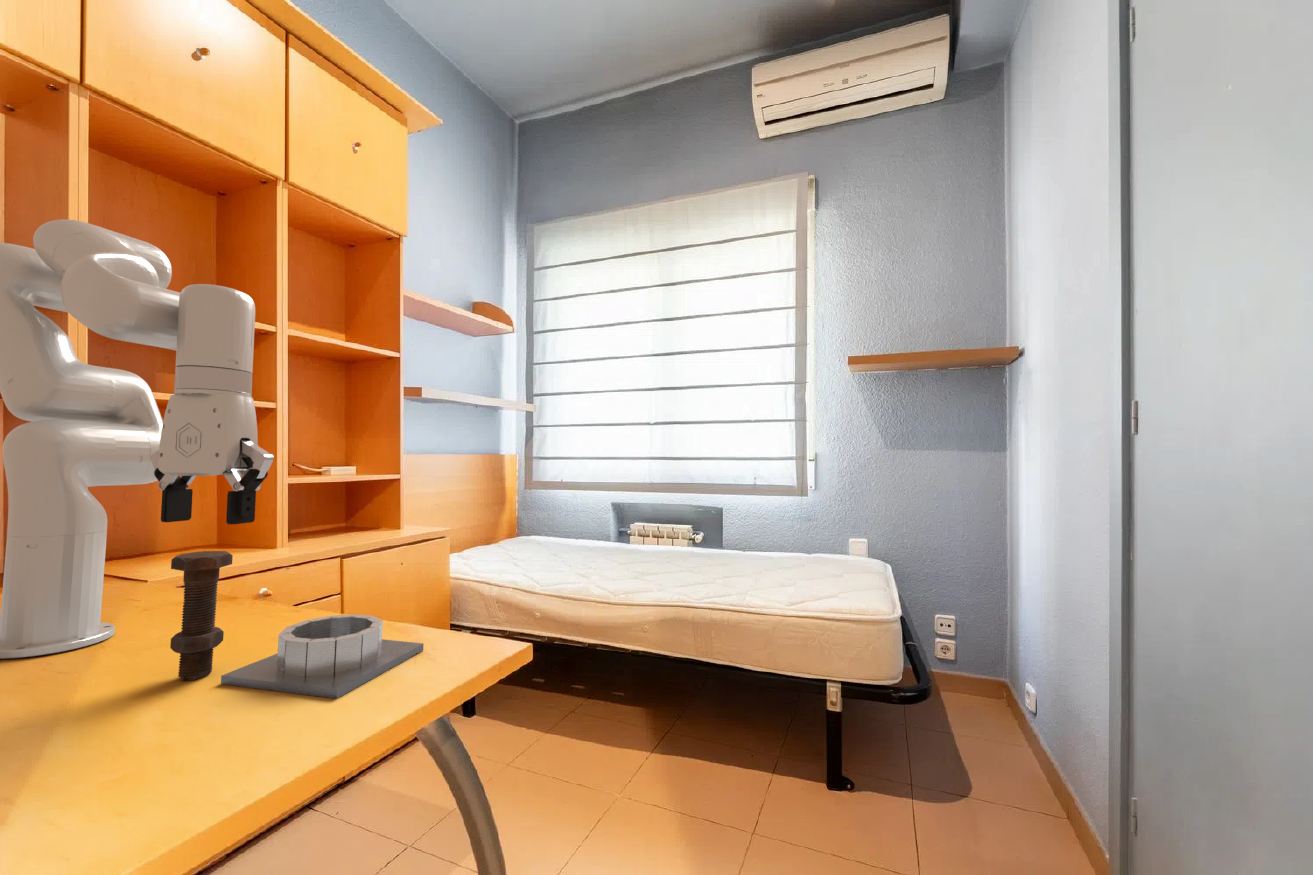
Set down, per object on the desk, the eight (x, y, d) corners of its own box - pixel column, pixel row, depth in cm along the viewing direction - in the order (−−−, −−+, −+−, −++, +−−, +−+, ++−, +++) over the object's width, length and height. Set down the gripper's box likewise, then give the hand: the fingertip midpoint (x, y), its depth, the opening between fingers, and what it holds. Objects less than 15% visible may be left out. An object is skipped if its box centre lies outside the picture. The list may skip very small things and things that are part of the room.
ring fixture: (220, 683, 64) (223, 641, 64) (326, 640, 79) (328, 606, 80) (336, 698, 61) (339, 654, 61) (423, 650, 76) (424, 615, 77)
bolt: (156, 679, 64) (164, 554, 65) (204, 665, 69) (212, 549, 70) (184, 688, 62) (193, 559, 63) (232, 673, 67) (240, 553, 68)
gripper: (125, 383, 65) (117, 523, 64) (243, 379, 62) (237, 527, 61) (189, 391, 73) (183, 517, 72) (298, 388, 69) (293, 521, 68)
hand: (208, 522), depth 66 cm, fingers open, 9 cm apart
